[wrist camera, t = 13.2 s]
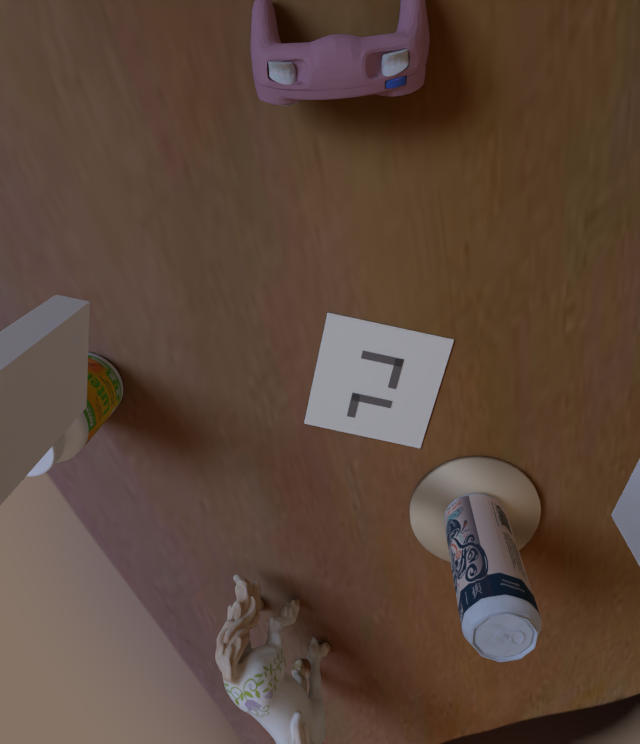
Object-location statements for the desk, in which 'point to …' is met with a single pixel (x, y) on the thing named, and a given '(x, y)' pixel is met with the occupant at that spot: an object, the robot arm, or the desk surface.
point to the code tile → (376, 380)
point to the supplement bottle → (87, 413)
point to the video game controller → (339, 60)
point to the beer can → (490, 579)
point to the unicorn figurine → (271, 671)
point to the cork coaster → (472, 478)
